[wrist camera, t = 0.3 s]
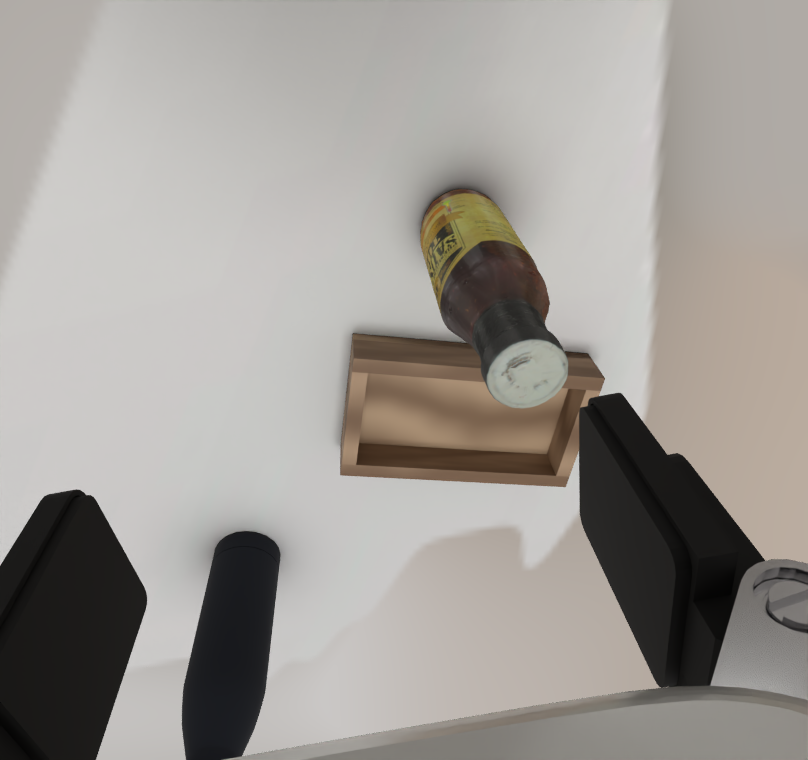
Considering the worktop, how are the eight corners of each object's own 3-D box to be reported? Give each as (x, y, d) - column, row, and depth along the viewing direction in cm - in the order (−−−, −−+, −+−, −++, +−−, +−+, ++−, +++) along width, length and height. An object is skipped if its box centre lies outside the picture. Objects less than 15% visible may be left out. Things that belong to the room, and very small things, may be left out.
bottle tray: (352, 333, 49) (353, 358, 46) (587, 353, 52) (605, 378, 49) (340, 445, 55) (340, 475, 52) (552, 458, 58) (565, 486, 55)
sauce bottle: (417, 186, 44) (464, 306, 27) (504, 184, 44) (604, 300, 27) (417, 273, 47) (459, 427, 30) (497, 270, 47) (583, 420, 31)
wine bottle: (279, 531, 60) (234, 922, 35) (281, 575, 63) (240, 962, 38) (212, 531, 59) (114, 931, 34) (217, 576, 63) (131, 971, 37)
